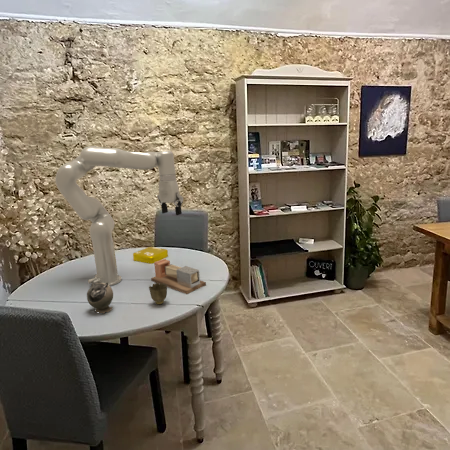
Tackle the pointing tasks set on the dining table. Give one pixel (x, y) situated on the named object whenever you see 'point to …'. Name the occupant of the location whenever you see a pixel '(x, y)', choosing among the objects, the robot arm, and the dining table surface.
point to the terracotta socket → (161, 267)
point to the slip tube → (172, 272)
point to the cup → (158, 292)
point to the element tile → (150, 255)
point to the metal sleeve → (187, 276)
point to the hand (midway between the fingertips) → (171, 213)
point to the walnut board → (176, 284)
